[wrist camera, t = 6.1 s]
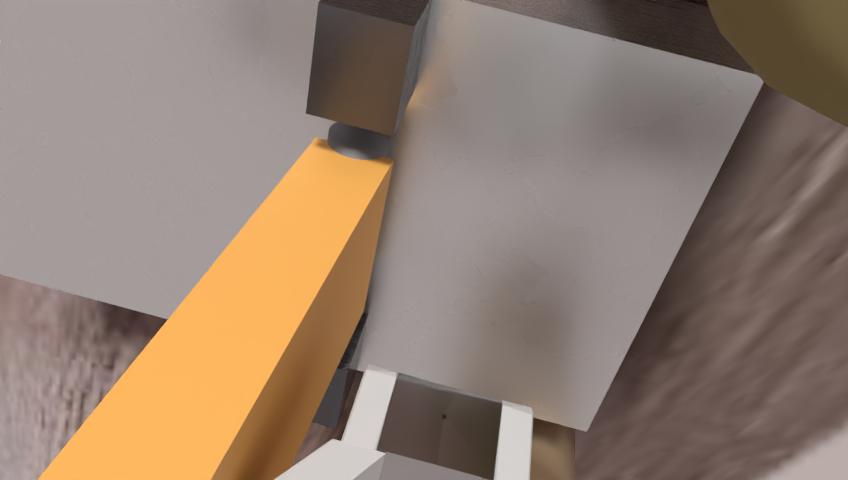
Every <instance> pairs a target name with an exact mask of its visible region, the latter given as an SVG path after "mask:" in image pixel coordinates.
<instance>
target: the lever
mask: <svg viewBox="0 0 848 480" xmlns="http://www.w3.org/2000/svg"><path fill="white" fill-rule="evenodd" d="M388 145H389V136H388V135H386V134H382V133H378V132H374V131H371V130H367V129H363V128H359V127H355V126H351V125H348V124H344V123H340V122H336V123H334V124H333V125H331V126H330V128H329V132H328V139H327V140H325V139H321V138H318V137H316V138H315V139H314V140H313V141H312V143H311V144H310V145H309V146H308V148H307V149H306V150H305V151H304V153H303V154H302V155H301V156H300V157H299V159H298V160H297V161H296V162H295V164H294V165H293V166H292V167H291V169H290V170H289V171H288V172H287V173H286V175H285V176H284V177H283V178H282V180H281V181H280V182H279V183H278V185H277V186H276V187H275V188H274V189H273V191H272V192H271V193H270V194H269V196H268V197H267V198H266V199H265V201H264V202H263V203H262V204H261V205H260V207H259V208H258V209H257V210H256V212H255V213H254V214H253V215H252V217H251V218H250V219H249V220H248V222H247V223H246V224H245V225H244V226H243V228H242V229H241V230H240V231H239V233H238V234H237V235H236V236H235V238H234V239H233V240H232V241H231V242H230V244H229V245H228V246H227V247H226V249H225V250H224V251H223V252H222V254H221V255H220V256H219V257H218V258H217V260H216V261H215V262H214V263H213V265H212V266H211V267H210V268H209V270H208V271H207V272H206V273H205V274H204V276H203V277H202V278H201V279H200V281H199V282H198V283H197V284H196V286H195V287H194V288H193V289H192V290H191V292H190V293H189V294H188V295H187V297H186V298H185V299H184V300H183V302H182V303H181V304H180V305H179V306H178V308H177V309H176V310H175V311H174V313H173V314H172V315H171V316H170V318H169V319H168V320H167V321H166V322H165V324H164V325H163V326H162V327H161V329H160V330H159V331H158V332H157V334H156V335H155V336H154V337H153V338H152V340H151V341H150V342H149V343H148V345H147V346H146V347H145V348H144V350H143V351H142V352H141V353H140V354H139V356H138V357H137V358H136V359H135V361H134V362H133V363H132V364H131V366H130V367H129V368H128V369H127V370H126V372H125V373H124V374H123V375H122V377H121V378H120V379H119V380H118V382H117V383H116V384H115V385H114V386H113V388H112V389H111V390H110V391H109V393H108V394H107V395H106V396H105V398H104V399H103V400H102V401H101V402H100V404H99V405H98V406H97V407H96V409H95V410H94V411H93V412H92V414H91V415H90V416H89V417H88V418H87V420H86V421H85V422H84V423H83V425H82V426H81V427H80V428H79V430H78V431H77V432H76V433H75V434H74V436H73V437H72V438H71V439H70V441H69V442H68V443H67V444H66V446H65V447H64V448H63V449H62V450H61V452H60V453H59V454H58V455H57V457H56V458H55V459H54V460H53V462H52V463H51V464H50V465H49V466H48V468H47V469H46V470H45V471H44V473H43V474H42V475H41V476H40V478H39V479H38V480H274V479H275V478H277V477H278V476H279V475H281V474H282V473H284V472H285V471H287V470H288V469H289V468H290V467H291V465H292V463H293V460H294V458H295V456H296V454H297V452H298V450H299V448H300V446H301V443H302V441H303V439H304V437H305V435H306V433H307V431H308V429H309V426H310V424H311V422H312V420H313V418H314V416H315V414H316V412H317V409H318V407H319V405H320V403H321V401H322V399H323V397H324V394H325V392H326V390H327V388H328V386H329V384H330V382H331V380H332V377H333V375H334V373H335V371H336V369H337V367H338V365H339V363H340V360H341V358H342V356H343V354H344V352H345V350H346V348H347V346H348V343H349V341H350V339H351V337H352V335H353V333H354V331H355V329H356V326H357V324H358V322H359V320H360V318H361V316H362V314H363V311H364V307H365V302H366V297H367V292H368V287H369V282H370V277H371V272H372V267H373V262H374V257H375V252H376V247H377V242H378V237H379V232H380V227H381V222H382V217H383V212H384V206H385V201H386V196H387V191H388V186H389V181H390V176H391V171H392V166H393V161H394V160H393V159H390V158H386V156H387V151H388Z"/></svg>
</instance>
